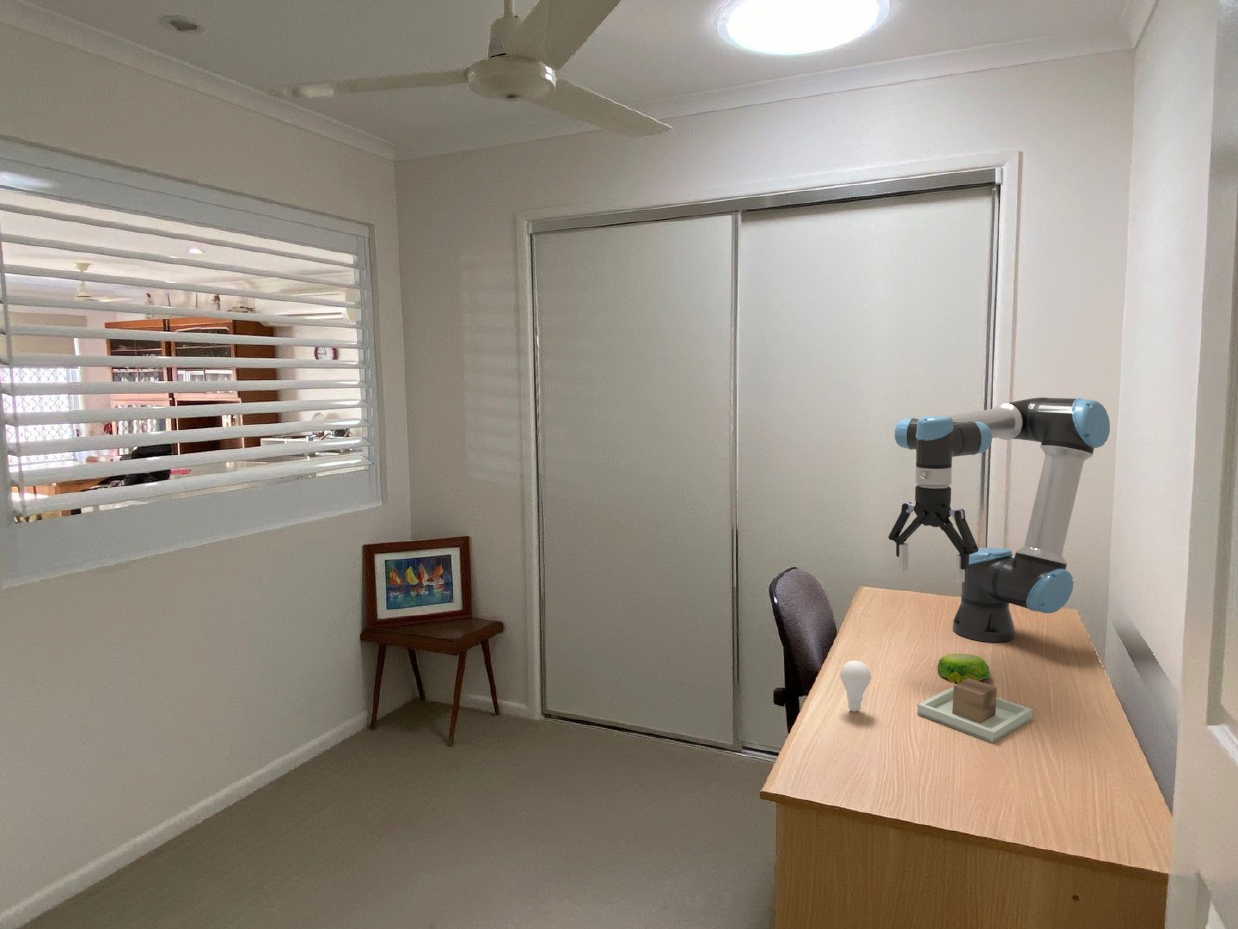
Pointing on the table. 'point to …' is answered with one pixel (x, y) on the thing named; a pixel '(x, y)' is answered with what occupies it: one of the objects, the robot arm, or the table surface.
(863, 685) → the lightbulb
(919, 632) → the table surface
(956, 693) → the cube
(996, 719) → the tray
